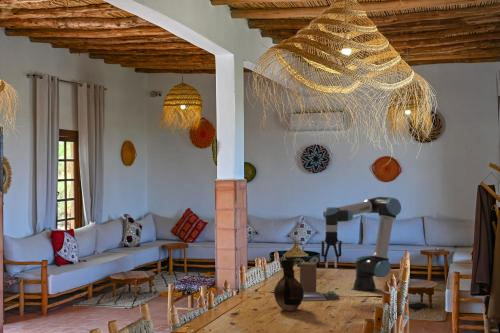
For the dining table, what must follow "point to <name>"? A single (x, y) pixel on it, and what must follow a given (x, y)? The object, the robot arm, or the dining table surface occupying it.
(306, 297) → the shallow gray tray
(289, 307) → the ceramic vessel
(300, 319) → the dining table surface
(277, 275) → the dining table surface
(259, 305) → the dining table surface
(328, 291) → the button
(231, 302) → the dining table surface
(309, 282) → the wooden block
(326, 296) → the button housing
